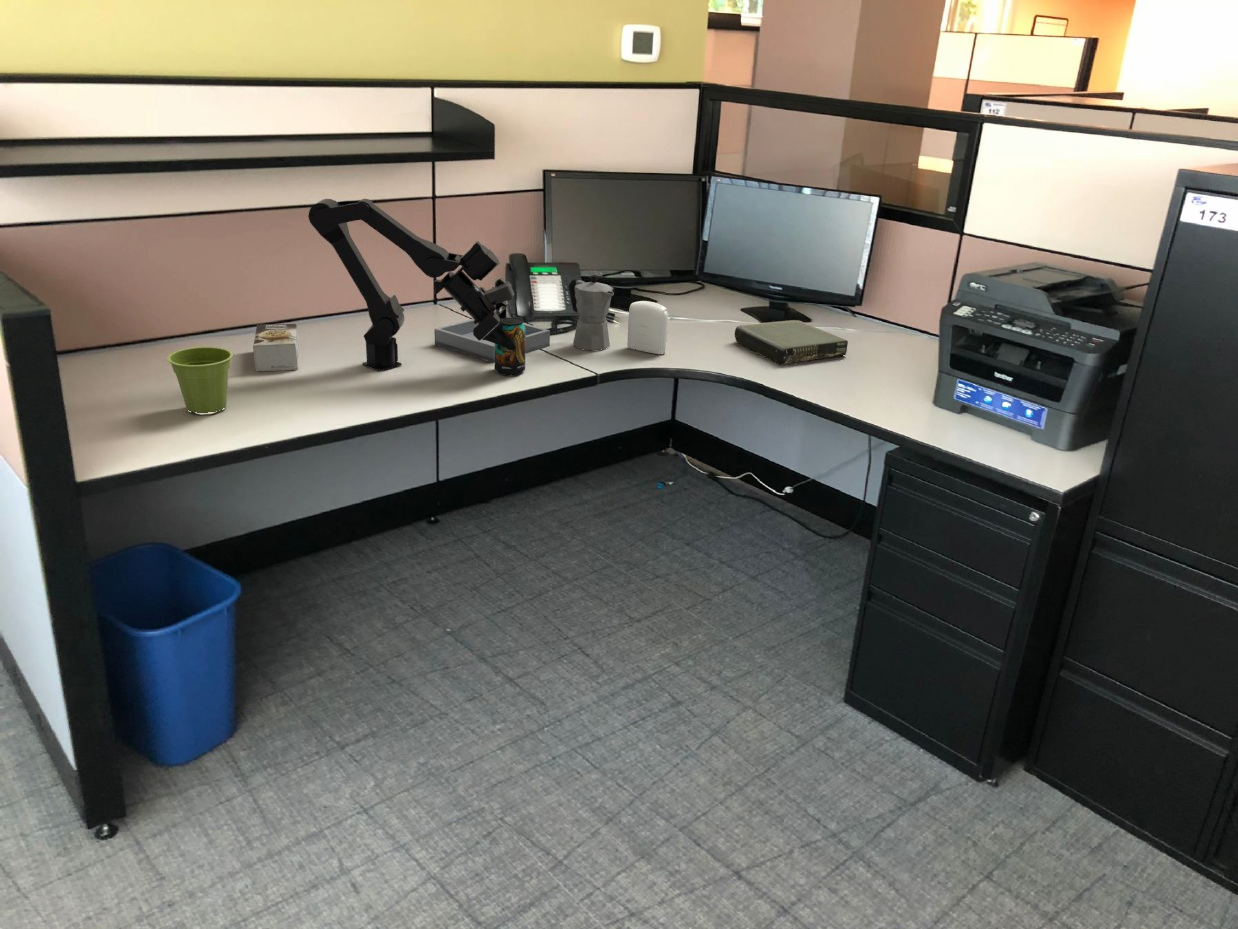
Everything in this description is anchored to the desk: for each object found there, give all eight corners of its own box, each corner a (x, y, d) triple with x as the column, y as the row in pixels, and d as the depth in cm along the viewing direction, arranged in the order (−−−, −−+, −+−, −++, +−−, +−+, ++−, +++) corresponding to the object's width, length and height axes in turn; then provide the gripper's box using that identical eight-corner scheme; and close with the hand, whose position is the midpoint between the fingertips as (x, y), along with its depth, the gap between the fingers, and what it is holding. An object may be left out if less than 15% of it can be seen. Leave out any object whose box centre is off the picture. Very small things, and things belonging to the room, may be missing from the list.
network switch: (788, 370, 246) (790, 350, 244) (724, 345, 263) (725, 326, 261) (853, 357, 259) (856, 338, 257) (788, 333, 276) (790, 316, 274)
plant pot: (164, 407, 201) (156, 353, 196) (222, 395, 209) (216, 343, 204) (189, 425, 193) (182, 368, 189) (248, 412, 201) (243, 357, 197)
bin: (493, 362, 238) (493, 346, 236) (434, 344, 249) (434, 328, 247) (549, 345, 253) (550, 330, 251) (491, 329, 264) (491, 314, 262)
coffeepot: (623, 348, 254) (627, 277, 247) (596, 355, 248) (599, 282, 240) (581, 334, 264) (583, 265, 256) (554, 340, 257) (555, 270, 250)
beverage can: (510, 378, 228) (511, 326, 223) (488, 371, 232) (488, 320, 227) (531, 371, 233) (532, 321, 229) (509, 364, 237) (509, 314, 232)
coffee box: (252, 344, 221) (255, 323, 235) (255, 372, 223) (258, 350, 237) (296, 342, 223) (296, 322, 237) (298, 370, 226) (298, 348, 240)
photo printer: (624, 348, 254) (626, 300, 249) (632, 344, 258) (635, 296, 253) (660, 356, 250) (663, 307, 245) (668, 352, 253) (672, 303, 248)
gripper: (488, 279, 215) (539, 332, 220) (497, 260, 232) (544, 310, 237) (451, 314, 218) (502, 365, 222) (463, 293, 235) (510, 341, 240)
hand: (516, 344), depth 230 cm, fingers closed on beverage can, 7 cm apart
